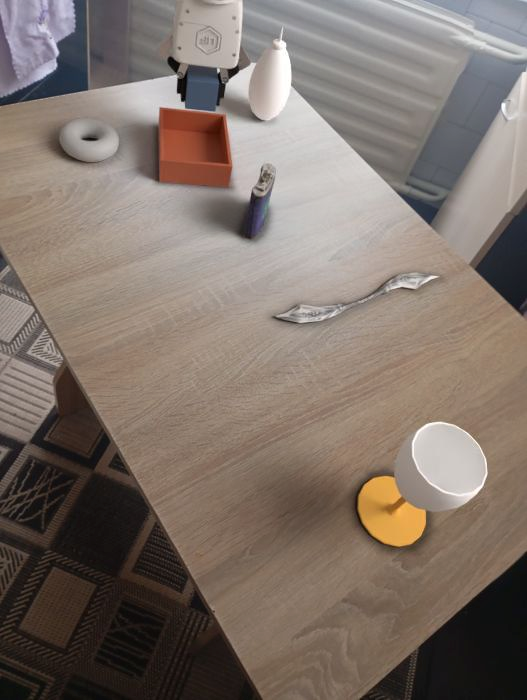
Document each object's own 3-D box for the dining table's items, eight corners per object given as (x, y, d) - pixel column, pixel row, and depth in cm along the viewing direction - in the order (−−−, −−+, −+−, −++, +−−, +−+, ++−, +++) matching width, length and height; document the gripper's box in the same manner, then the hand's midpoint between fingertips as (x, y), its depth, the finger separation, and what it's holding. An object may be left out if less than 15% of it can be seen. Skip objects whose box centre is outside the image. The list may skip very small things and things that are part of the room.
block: (185, 108, 93) (187, 79, 89) (184, 91, 95) (186, 62, 91) (215, 112, 94) (219, 83, 90) (213, 94, 97) (217, 66, 93)
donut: (124, 165, 99) (114, 129, 103) (123, 149, 96) (113, 112, 101) (64, 167, 95) (56, 130, 100) (62, 150, 93) (54, 113, 97)
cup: (380, 558, 67) (440, 513, 54) (344, 490, 71) (391, 433, 58) (439, 530, 71) (508, 481, 58) (401, 466, 75) (457, 408, 62)
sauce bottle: (289, 121, 116) (312, 32, 102) (264, 133, 112) (285, 42, 98) (261, 102, 118) (280, 12, 104) (236, 113, 114) (252, 21, 100)
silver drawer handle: (272, 315, 85) (289, 339, 83) (273, 312, 85) (290, 337, 83) (423, 260, 99) (441, 280, 97) (425, 258, 99) (443, 277, 97)
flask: (253, 202, 99) (266, 151, 91) (269, 207, 100) (283, 156, 91) (240, 236, 94) (251, 185, 85) (257, 242, 94) (270, 191, 85)
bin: (159, 181, 98) (160, 160, 94) (158, 128, 106) (159, 106, 103) (228, 187, 101) (232, 166, 97) (222, 135, 109) (225, 114, 105)
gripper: (150, -17, 76) (147, 107, 90) (274, 2, 79) (252, 117, 94) (150, -42, 80) (147, 80, 94) (267, -23, 84) (247, 92, 98)
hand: (199, 98), depth 94 cm, fingers closed on block, 5 cm apart
